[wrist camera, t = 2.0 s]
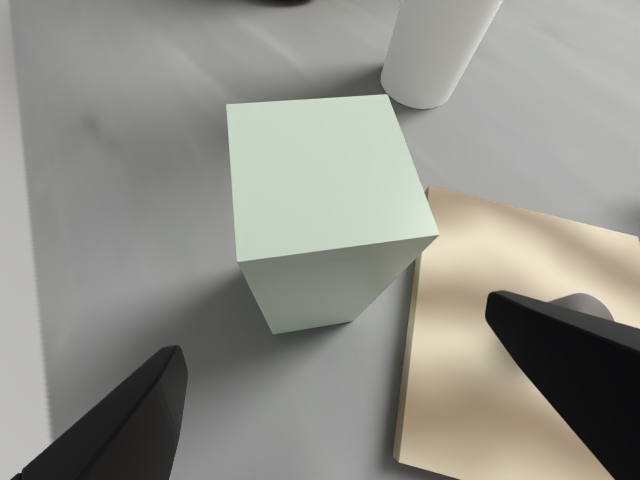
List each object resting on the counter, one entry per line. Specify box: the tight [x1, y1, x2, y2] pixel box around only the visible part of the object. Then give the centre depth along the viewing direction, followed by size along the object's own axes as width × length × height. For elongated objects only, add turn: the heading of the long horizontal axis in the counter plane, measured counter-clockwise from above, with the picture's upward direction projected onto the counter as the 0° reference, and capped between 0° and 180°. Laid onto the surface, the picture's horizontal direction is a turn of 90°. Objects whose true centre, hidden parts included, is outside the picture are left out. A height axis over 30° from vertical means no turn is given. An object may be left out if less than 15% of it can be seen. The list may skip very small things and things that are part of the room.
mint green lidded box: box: [226, 94, 440, 335], centre depth 14 cm, size 5×5×13 cm
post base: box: [392, 185, 640, 480], centre depth 18 cm, size 18×16×5 cm
